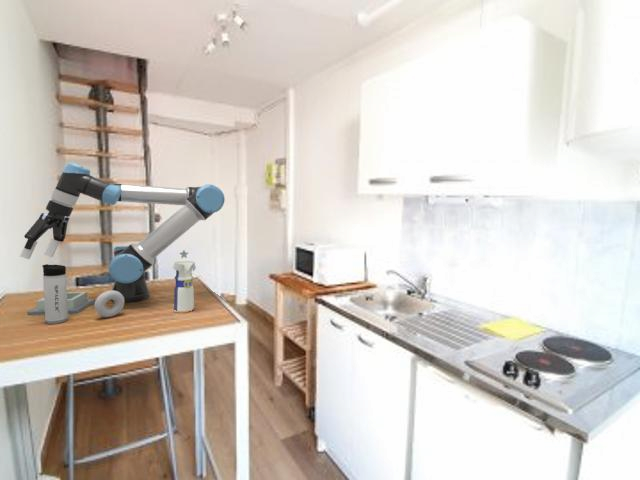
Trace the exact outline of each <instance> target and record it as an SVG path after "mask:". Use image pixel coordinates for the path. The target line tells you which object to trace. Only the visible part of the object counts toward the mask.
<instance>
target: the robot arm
mask: <svg viewBox="0 0 640 480" xmlns="http://www.w3.org/2000/svg"><path fill="white" fill-rule="evenodd" d="M80 195H84V196H88V197H90V198H92V199H94V200H98V201H100V202H103V203H104V204H108V205H111V206H115V205H116V204H117V203H118V202H122V203H123V202H125V203H138V204H139V203H140V204H141V203H142V204H155V205H157V204H158V205H172V206H182V207H181V208H179V210H177V211H176V212H175V213H173V214H172V215H171V216H170V217H169V218H167V219H166V220H165V221H163V222H162V223H161V224H160V225H159V226H158V227H156V228H155V229H154V230H153V231H151V232H150V233H149V234H148V235H147V236H145V237H144V238H143V239H142V240H140V241H139V242H138V243H136V242H135V243H131V244H129V245H128V246H115V247H113V248H114V251H113V256H114V257H113V258H112V259H111V260H110V262H109V264H108V270H109V271H108V272H109V276H111V277H112V279H113V280H114V282H113V286H112V289H111V290H114V291H118V292H119V293H121V294H122V295H123V297H124V301H125V302H124V303H132V302H133V301H134V302H139V301H143V299H144V300H146V298H147V299H149V297H150V290H149V286H148V284H147V282H146V271H147V270H148V269H149V268H151V267H152V266H153V265H154V264H155V263H154V261H155V258H156V257H158V256H159V255H161V253H163V252H164V251H165V250H166V249H167V248H168V247H170V246H171V245H172V244H173V243H174V242H175V241H177V240H178V239H180V237H182V236H183V235H184V234H185V233H186V232H188V231H189V230H190V229H191V228H192V227H194V226H195V225H196V224H197V223H198V222H199V221H206V220H207V219H208V218H210V217H211V216H213V214H214V213H217V212H219V211H220V210H222V208H223V207H224V204H225V199H226V198H225V194H224V193H223V191H222V190H221V188H220V187H218V186H216V185H214V184H211V183H210V184H208V183H207V184H204V185H201V186H195V187H194V186H187V187H186V188H179V187H167V186H154V185H153V186H152V185H140V184H129V183H128V184H126V183H115V182H108V181H105V180H102V179H100V178H97V177H94V176H92V175H91V170H90V169H89V168H86V167H83V166H81V165H79V164H77V163H74V162H68V163H66V166H65V167H64V169H63V171H62V172H61V175H60V177H59V179H58V181H57V184H56V186H55V188H54V190H53V191H52V194H51V197H50V199H51V200H49V201H48V202H47V205H46V207H45V210H47V211H48V213H45V212H42V213H40V215H39V217H38V219H36V221H35V222H34V223H33V225H31V226H30V228H29V229H28V231H27V232H25V234H24V235H23V236H24V238H25V239H27V240H26V242H25V245H24V246H23V249H22V251H21V252H20V255H19V257H21V258H24V259H26V260H30V259H31V257H32V255H33V252H34V251H35V248H36V246H37V244H38V240H39V239H40V238H41V237H42V236H43V235H45V233H46V232H47V231H48V230H51V229H52V234H53V235H52V236H53V238H51V239H50V241H49V243H48V245H47V247H46V249H45V252H44V254H43V255H44V256H47V257H50V258H53V257H54V255H55V253H56V251H57V249H58V247H59V244H60V242H61V243H63V242H64V241H65V239H66V236H67V235H66V234H67V228H68V223H69V220H70V216H71V215H72V212H73V211H74V208H73V207H76V205H77V202H78V200H79V197H80ZM110 301H112V302H114V300H112V299H110Z"/></svg>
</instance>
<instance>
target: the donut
mask: <svg viewBox="0 0 640 480" xmlns="http://www.w3.org/2000/svg"><path fill="white" fill-rule="evenodd" d="M111 299H112V300H114V301H113V305H112V306H111V307H107V306H106V304H107V302H108V301H109V300H110V301H111ZM125 303H126V302H125V301H124V297H123V295H122V294H121V293H119V292H118V291H114V290H112V289H111V290H105V291H104V292H102V293H101V294H99V295H98V296H97V297H96V298H95V302H94V303H93V304H94V305H93V307H94V310H95V312H96V315H98V316H99V317H103V318H111V317H114V316H117V315H118V314H119V313H120V312H121V311H122V310H123V308H124V306H125Z"/></svg>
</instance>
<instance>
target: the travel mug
mask: <svg viewBox="0 0 640 480" xmlns="http://www.w3.org/2000/svg"><path fill="white" fill-rule="evenodd" d="M41 266H42V270H43V272H42V273H43V274H42V275H43V276H42V278H43V282H42V283H43V298H44V304H45V315H44V318H45V320H44V321H45V324H48V325H58V324H62V323H65V322H67V321H68V319H69V316H68V315H69V314H68V310H67V292H68V289H67V270H66V269H67V267H66V266H65V265H63V264H62V265H61V264H47V263H45V264H42V265H41Z"/></svg>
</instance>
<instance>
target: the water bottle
mask: <svg viewBox="0 0 640 480" xmlns="http://www.w3.org/2000/svg"><path fill="white" fill-rule="evenodd" d="M179 254H180V255H181V259H184V258H188V257H187V255H189V252H186V250H185V249H183V250H182V252H179ZM172 269H173V270H175V272H176V273H175V276H174V280H175V286H174V295H173V301H174V302H173V311H174V310H176V311H186V310H190V309H192V308H194V309H195V298H194V295H195V294H194V293H195V292H194V286H193V279H194V276H193V273H192V272H194V271H195V270H196V264H195V261H191V260H189V261H188V260H181V261H175V262H174V263H173V265H172Z"/></svg>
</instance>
